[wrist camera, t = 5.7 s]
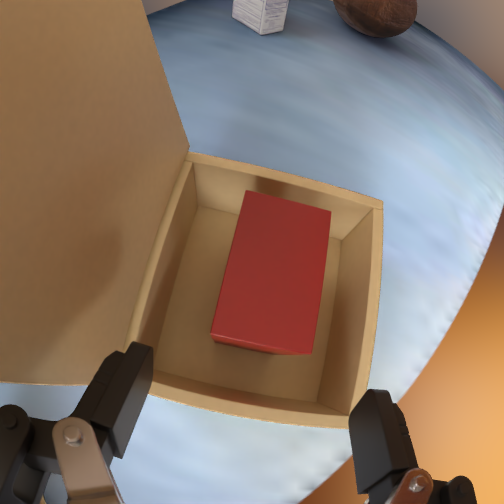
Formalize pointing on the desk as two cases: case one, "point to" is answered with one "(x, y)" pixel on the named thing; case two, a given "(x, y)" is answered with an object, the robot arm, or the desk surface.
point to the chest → (208, 288)
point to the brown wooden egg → (378, 15)
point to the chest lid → (78, 180)
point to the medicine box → (261, 14)
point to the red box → (273, 277)
